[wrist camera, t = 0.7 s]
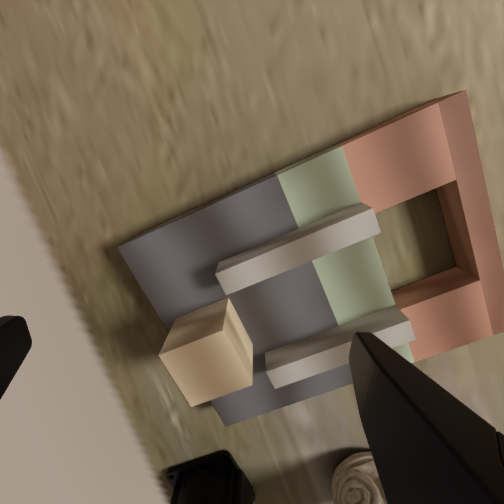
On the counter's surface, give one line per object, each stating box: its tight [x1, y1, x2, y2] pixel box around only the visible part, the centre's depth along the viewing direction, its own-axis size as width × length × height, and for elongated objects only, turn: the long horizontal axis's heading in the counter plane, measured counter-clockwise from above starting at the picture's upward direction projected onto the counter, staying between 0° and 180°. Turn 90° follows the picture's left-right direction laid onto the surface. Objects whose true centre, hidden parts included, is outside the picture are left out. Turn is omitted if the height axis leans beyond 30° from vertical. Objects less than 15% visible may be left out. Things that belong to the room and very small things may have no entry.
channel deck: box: [117, 90, 504, 426], centre depth 21 cm, size 22×16×4 cm
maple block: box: [159, 297, 253, 407], centre depth 20 cm, size 4×4×4 cm
